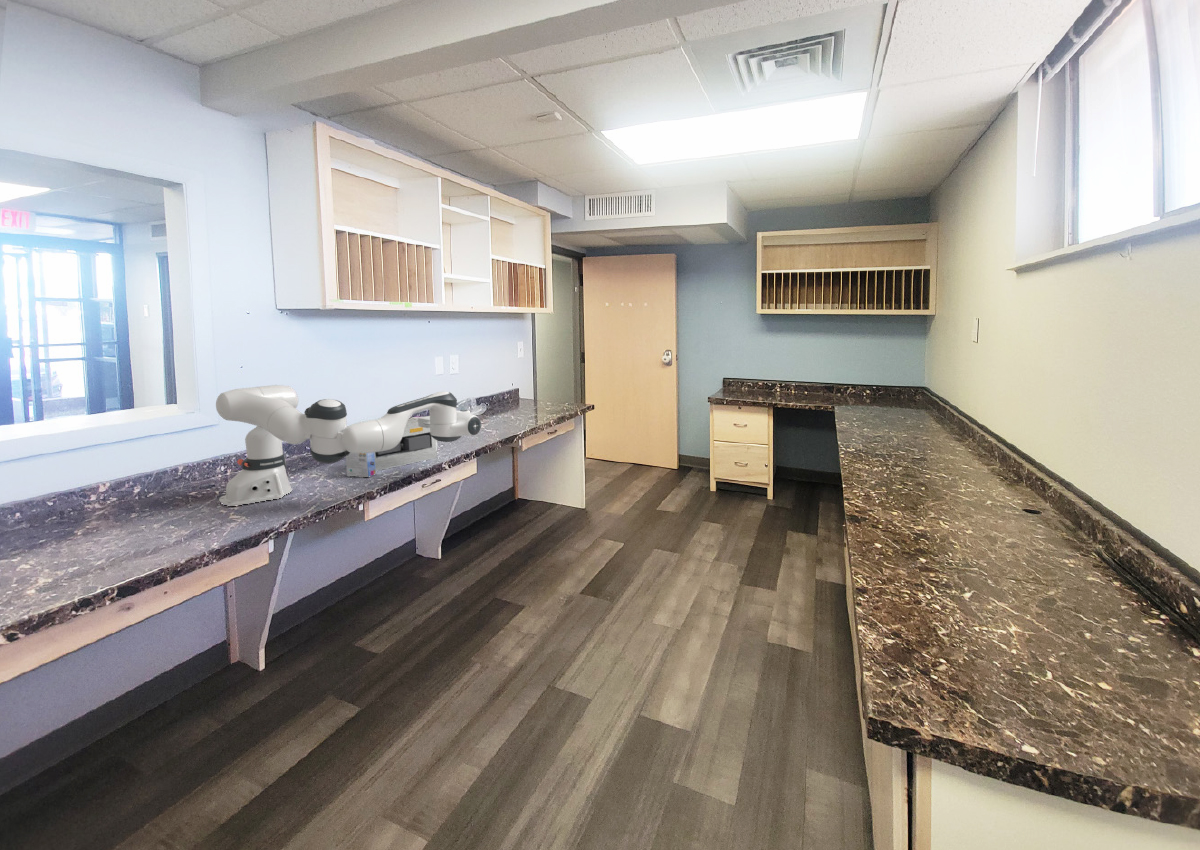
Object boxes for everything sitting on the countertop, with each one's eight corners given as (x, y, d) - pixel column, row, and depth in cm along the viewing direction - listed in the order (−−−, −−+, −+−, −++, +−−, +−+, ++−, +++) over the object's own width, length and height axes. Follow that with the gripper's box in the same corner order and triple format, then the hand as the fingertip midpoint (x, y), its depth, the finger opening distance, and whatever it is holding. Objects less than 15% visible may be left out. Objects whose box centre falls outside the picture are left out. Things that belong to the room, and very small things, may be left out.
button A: (378, 454, 236) (377, 442, 235) (372, 452, 239) (371, 441, 238) (400, 450, 243) (400, 438, 242) (395, 448, 246) (394, 437, 245)
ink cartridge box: (377, 474, 230) (374, 439, 227) (369, 478, 225) (365, 442, 222) (355, 473, 232) (351, 438, 229) (346, 477, 227) (343, 441, 224)
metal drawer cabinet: (372, 472, 233) (368, 429, 229) (362, 468, 239) (358, 426, 235) (437, 458, 254) (434, 419, 251) (426, 455, 261) (423, 416, 257)
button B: (409, 450, 242) (408, 439, 241) (403, 449, 245) (402, 437, 244) (430, 446, 249) (429, 435, 248) (424, 445, 252) (423, 434, 251)
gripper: (428, 433, 217) (410, 428, 226) (474, 425, 231) (455, 421, 241) (427, 416, 216) (409, 412, 225) (473, 410, 230) (454, 406, 240)
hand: (433, 417), depth 233 cm, fingers closed
